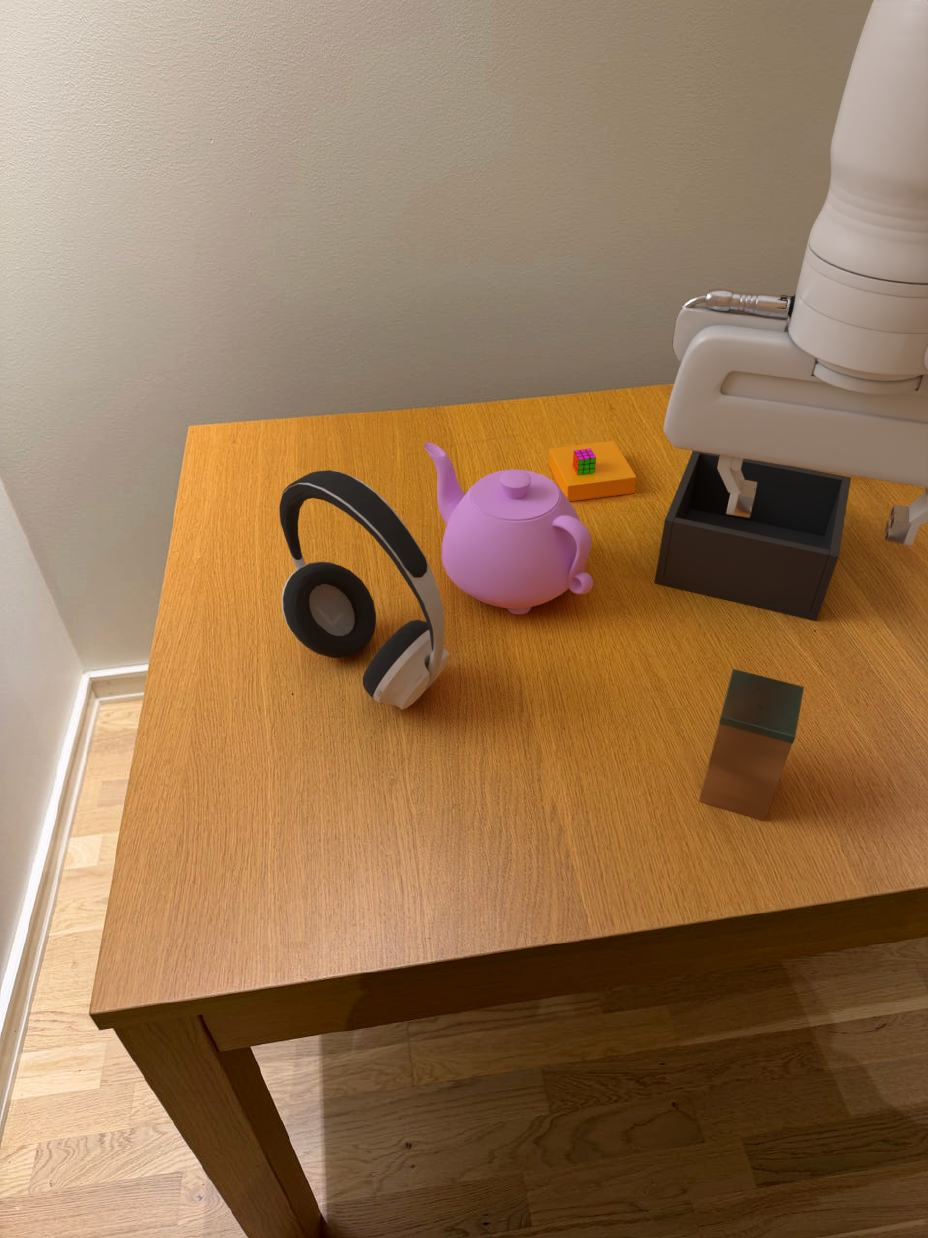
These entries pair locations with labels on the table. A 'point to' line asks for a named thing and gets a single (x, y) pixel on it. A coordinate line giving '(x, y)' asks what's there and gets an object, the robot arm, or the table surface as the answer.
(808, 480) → the dark brown box
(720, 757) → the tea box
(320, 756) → the table surface
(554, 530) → the teapot
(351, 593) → the headphones
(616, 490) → the orange square platform
